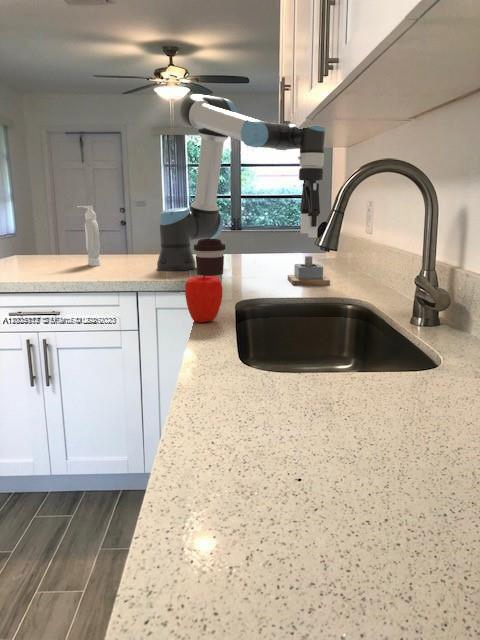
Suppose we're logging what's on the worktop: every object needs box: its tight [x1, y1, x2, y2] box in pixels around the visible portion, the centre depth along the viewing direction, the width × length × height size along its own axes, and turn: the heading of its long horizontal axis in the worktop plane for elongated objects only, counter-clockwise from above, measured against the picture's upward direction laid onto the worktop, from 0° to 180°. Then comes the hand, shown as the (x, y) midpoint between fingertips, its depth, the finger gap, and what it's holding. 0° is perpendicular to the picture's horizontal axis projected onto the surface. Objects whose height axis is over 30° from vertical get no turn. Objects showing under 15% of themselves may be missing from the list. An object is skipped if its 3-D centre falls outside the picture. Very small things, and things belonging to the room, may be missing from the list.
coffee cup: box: [193, 238, 226, 285], centre depth 159 cm, size 10×10×15 cm
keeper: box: [287, 255, 331, 286], centre depth 168 cm, size 12×12×8 cm
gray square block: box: [293, 263, 324, 280], centre depth 168 cm, size 8×8×4 cm
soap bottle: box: [76, 205, 102, 267], centre depth 210 cm, size 13×8×24 cm, turn 22°
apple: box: [184, 276, 223, 324], centre depth 117 cm, size 9×9×11 cm
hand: (308, 235), depth 165 cm, fingers open, 13 cm apart
